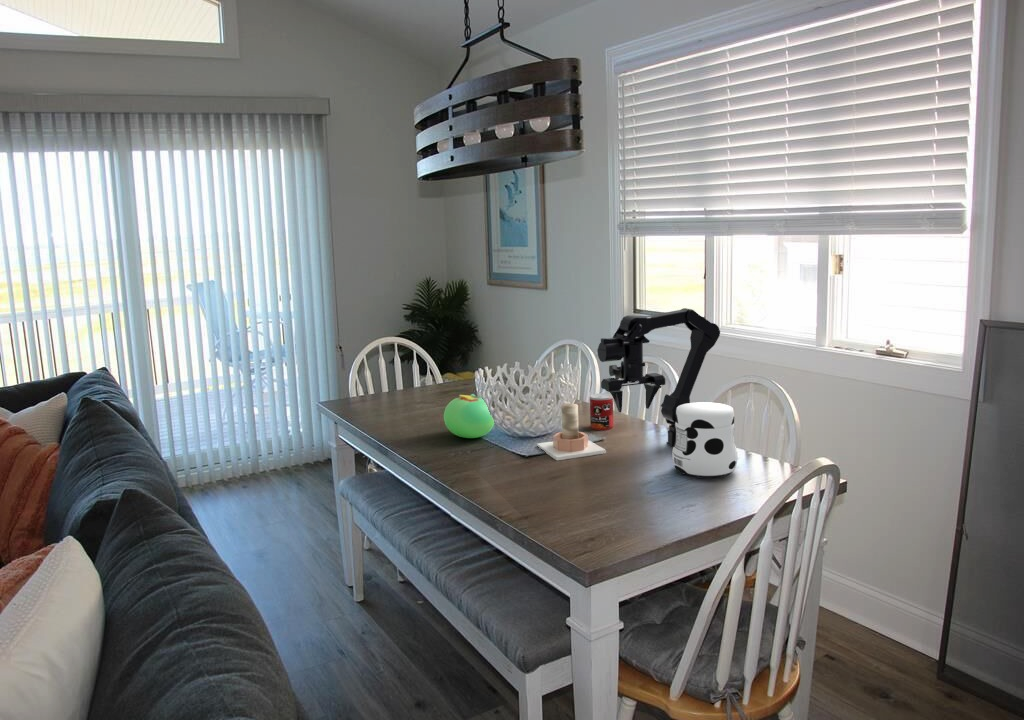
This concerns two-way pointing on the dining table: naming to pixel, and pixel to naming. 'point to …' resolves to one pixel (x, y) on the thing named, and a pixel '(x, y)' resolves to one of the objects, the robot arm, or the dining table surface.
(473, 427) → the toy bird
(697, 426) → the milk container
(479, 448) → the dining table surface
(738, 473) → the dining table surface
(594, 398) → the canned food
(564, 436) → the beech peg
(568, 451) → the octagonal ring base
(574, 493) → the dining table surface
